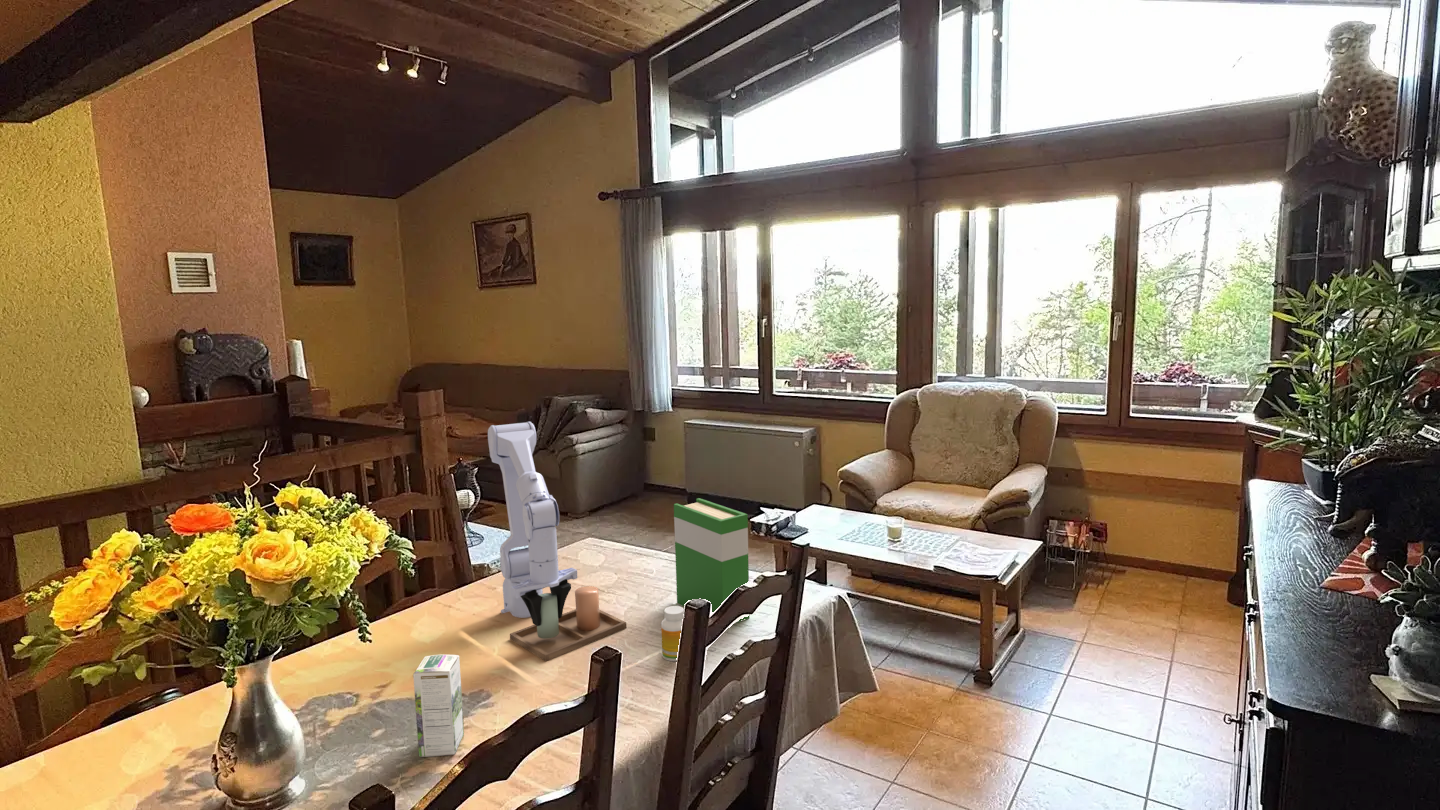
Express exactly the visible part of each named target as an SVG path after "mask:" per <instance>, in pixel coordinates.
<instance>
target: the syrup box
mask: <svg viewBox="0 0 1440 810" xmlns="http://www.w3.org/2000/svg"><path fill="white" fill-rule="evenodd" d="M460 663H461V662H460V655H458V654H433V655H425V656H424V657H423V659H422V660H421V662H420V664H419V665H418V666H417V668H416V670H415V671H414V672H413V675H412V676H413V688H414V690H413V691H414V703H415V717H416V718H415V721H416V731H417V732H416V733H417V745H418V756H419V757H420V758H425V757H427V758H428V757H441V756H452V755H456V753H457V751H458V749H459V746H460V744H461V742H462V739H463V737H464V735H465V727H464V711H463V694H462V680H461V679H462V678H461V665H460Z"/></svg>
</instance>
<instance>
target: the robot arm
mask: <svg viewBox="0 0 1440 810" xmlns="http://www.w3.org/2000/svg"><path fill="white" fill-rule="evenodd" d="M487 442H488V448H489V450H488V451H489V457H490V459H491V463H494V464H498V465H499V467H500V471H501V475H502V481H503V489H504V495H505V496H504V497H505V502H506V510H507V518H508V524H509V525H508V526H509V531H510V532H509V534H510V535H509V537H507V539H506V540H505V541H503V543H502V544H501V545H500V549H499V556H500V558H499V561H500V562H499V563H500V571H501V574H502V577H503V578H504V580H503V583H502V594H503V609H501V610H500V613H501V614H506V613H508V612H509V613H510V614H511V616H513V617H516V618H522V619H523V618H525V619H526V618H531V623H532V624H533V625H536V626H540V625H541V602H542V597H541V596H540V594H544V592H543V591H544V590H543V589H546V588H549V590H550V593H553V594H556V595H557V606H558V618H561V617H562V614H563V611H564V607H565V603H566V600H567V597H568V596H569V594H570V593H569V592H570V591H571V590H572V583H570V582H568V581H570V580H577V579H578V569H576V568H574V567H570V568H565V569H559V557H558V542H557V541H558V540H557V539H558V538H557V537H558V536H557V527H558V526H559V525H560V511H559V505H558V503H557V500H556V499H555V498H554V496H553V494H550V492H549V490H548V487H547V484H546V481H545V478H544V476H543V475H542V473H539V472H537V471H536V467H535V463H534V458H533V454H534V451H535V448H536V446H537V431H536V427H535V424H534V423H532V421H526V422H517V423H509V424H508V423H507V424H499V425H494V424H492V425H489V427H488V429H487ZM527 546H528V547H527ZM521 547H525V548H521ZM515 548H516V549H515ZM517 548H519V549H517ZM512 549H513V550H512ZM514 549H515V550H514Z"/></svg>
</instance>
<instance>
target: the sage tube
mask: <svg viewBox="0 0 1440 810" xmlns="http://www.w3.org/2000/svg"><path fill="white" fill-rule="evenodd" d="M540 596H541V597H542V602H541V625H540V626H537V635H538V637H539V638H543V639H548V638H553V637H555V636H557V635H558V634H559V622H558V606H557V595H556V594H553V593H551V592H545V593H544V592H543V594H540Z"/></svg>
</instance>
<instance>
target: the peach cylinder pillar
mask: <svg viewBox="0 0 1440 810" xmlns="http://www.w3.org/2000/svg"><path fill="white" fill-rule="evenodd" d="M574 598H575V599H574V600H575V609H576V619H577V628H578V629H579V630H582V631H590V630H594V629H597V628H598V627H599V626H600V612H599V610H600V598H599V588H598V587H596V586H592V585H591V586H590V585H589V586H588V585H587V586H581V587H579V588H577V589H575V590H574Z"/></svg>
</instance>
